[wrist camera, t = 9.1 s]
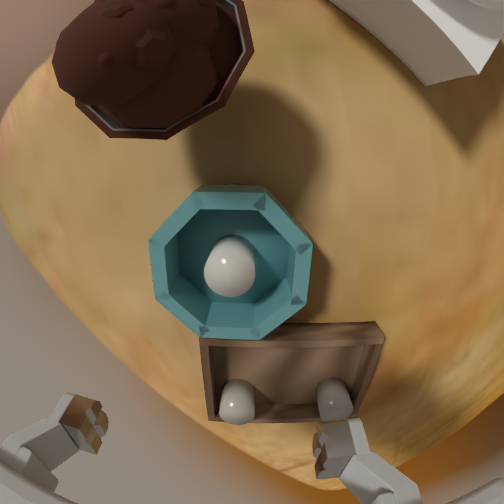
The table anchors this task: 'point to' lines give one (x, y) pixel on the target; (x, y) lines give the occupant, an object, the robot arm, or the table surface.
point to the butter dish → (433, 33)
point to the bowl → (199, 248)
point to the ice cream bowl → (152, 62)
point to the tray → (292, 367)
